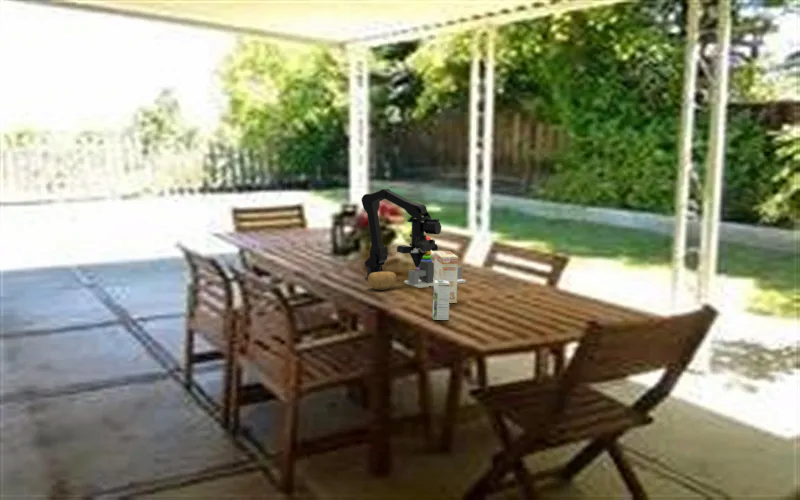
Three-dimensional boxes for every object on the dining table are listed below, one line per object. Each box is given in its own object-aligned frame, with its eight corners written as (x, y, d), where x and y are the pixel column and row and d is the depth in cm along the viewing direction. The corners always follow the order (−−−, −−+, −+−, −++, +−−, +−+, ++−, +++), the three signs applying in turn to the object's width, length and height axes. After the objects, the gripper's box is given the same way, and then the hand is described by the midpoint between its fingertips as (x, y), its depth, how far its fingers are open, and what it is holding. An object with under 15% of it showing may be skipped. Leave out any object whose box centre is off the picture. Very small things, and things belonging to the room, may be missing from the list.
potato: (401, 289, 391) (402, 271, 389) (375, 293, 382) (375, 274, 381) (388, 285, 398) (389, 268, 397) (362, 289, 390) (362, 271, 389)
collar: (427, 282, 400) (428, 263, 399) (419, 279, 406) (419, 261, 405) (433, 281, 402) (433, 262, 401) (424, 278, 408) (425, 260, 406)
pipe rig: (419, 287, 395) (419, 272, 394) (404, 283, 405) (404, 268, 404) (465, 282, 409) (466, 268, 408) (450, 277, 419) (450, 263, 418)
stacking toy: (431, 277, 420) (432, 237, 417) (414, 276, 421) (415, 236, 418) (434, 274, 427) (435, 235, 424) (417, 273, 429) (418, 234, 426)
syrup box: (432, 317, 341) (433, 279, 338) (447, 317, 341) (448, 280, 339) (433, 321, 335) (434, 282, 333) (449, 321, 335) (450, 283, 333)
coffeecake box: (457, 304, 364) (458, 256, 361) (440, 304, 363) (441, 257, 360) (449, 296, 379) (450, 250, 376) (432, 296, 378) (433, 251, 374)
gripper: (410, 236, 386) (409, 271, 388) (445, 233, 396) (444, 268, 399) (396, 233, 395) (395, 267, 398) (431, 230, 405) (430, 264, 408)
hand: (417, 267), depth 400 cm, fingers closed
